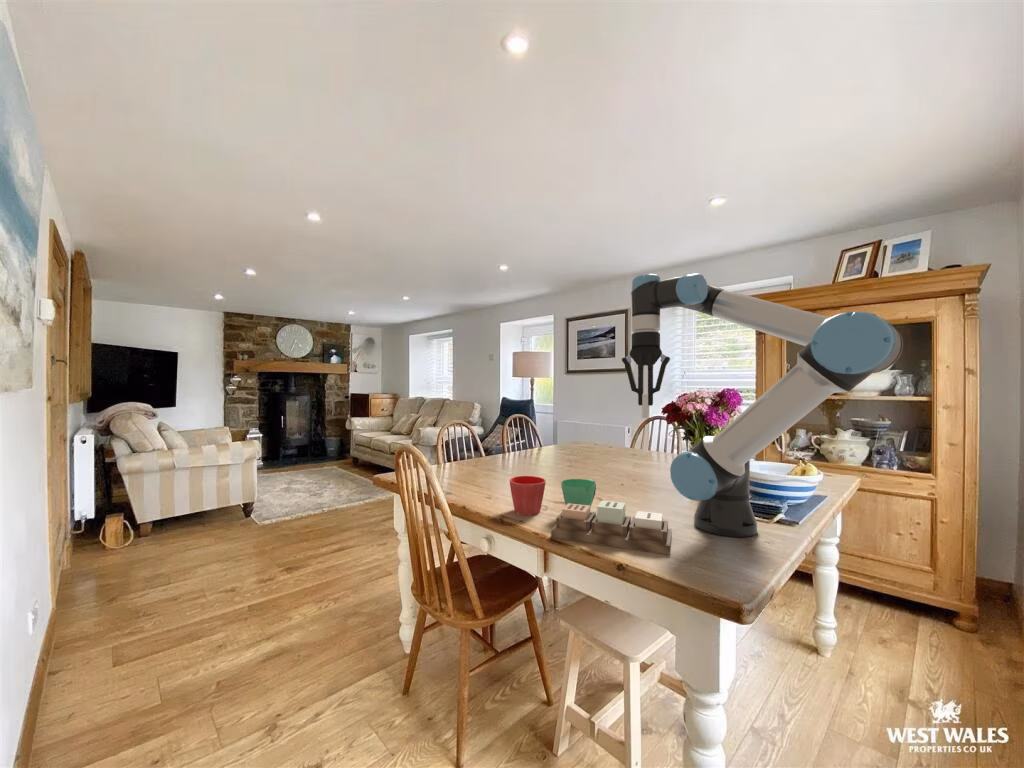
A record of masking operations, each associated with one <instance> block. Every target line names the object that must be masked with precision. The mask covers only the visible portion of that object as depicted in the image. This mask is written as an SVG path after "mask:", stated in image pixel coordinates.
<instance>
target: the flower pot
mask: <svg viewBox="0 0 1024 768" xmlns="http://www.w3.org/2000/svg"><path fill="white" fill-rule="evenodd" d="M546 484H547V481H546V479H545V478H543V477H541V476H532V475H520V476H514V477H511V478H509V486H510V492H511V498H512V503H513V508H514V512H515V513H516V514H517V513H518V515H521V516H534V515H537V514H539V513H540V512H541V509H542V504H543V500H544V495H545V494H544V493H545V489H546Z"/></svg>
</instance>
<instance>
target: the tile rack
mask: <svg viewBox="0 0 1024 768" xmlns="http://www.w3.org/2000/svg"><path fill="white" fill-rule="evenodd" d="M555 520H556V524H555V525H554V526H553V527H552V528H551V530H550V531H551V532H550V535H551V537H550V538H553V539H560V540H566V541H572V542H580V543H588V544H595V545H599V546H605V547H607V546H608V547H615V548H621V549H627V550H628V549H629V550H635V551H641V552H649V553H656V554H661V555H662V554H663V555H668V556H669V555H671V548H672V537H673V536H672V534H673V533H672V532H673V531H672V528H669V520H664V519H663V530H657V529H649V528H641V527H635V516H633V517H631V516H628V515H625V521H624V523H623V525H617V524H609V523H601V522H597V513H596V512H595V511H590V517H589V518H588V519H587V521H585V520H578V519H570V518H562V512H561V513H559V514H558V515H557V516H556V518H555Z"/></svg>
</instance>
